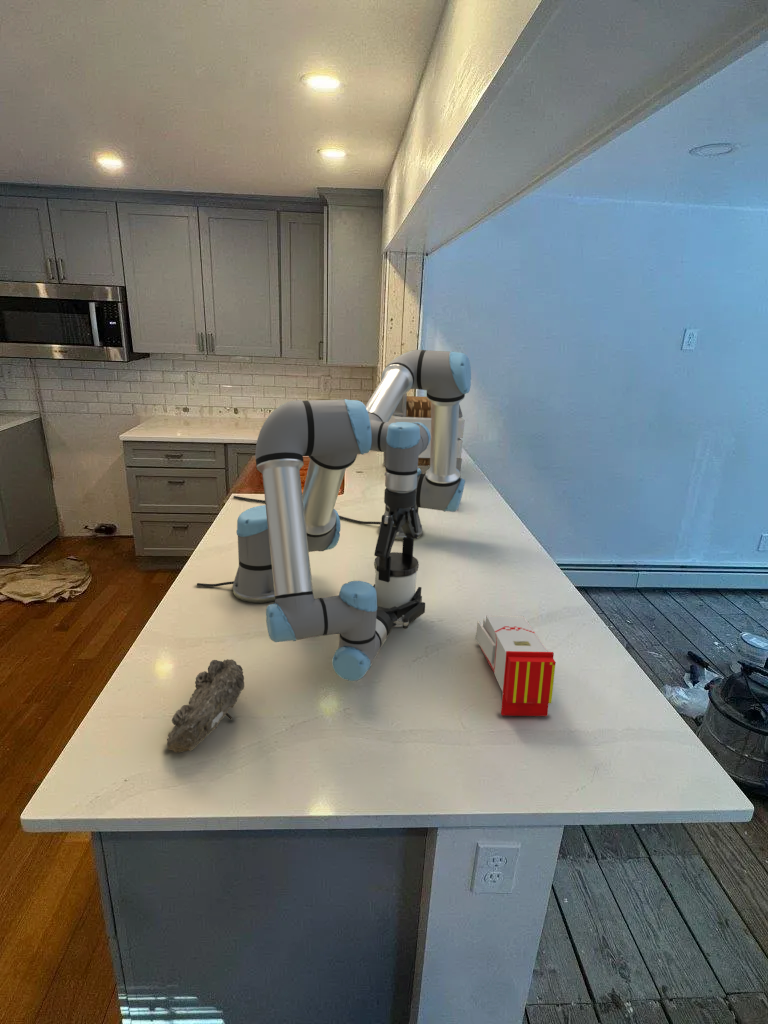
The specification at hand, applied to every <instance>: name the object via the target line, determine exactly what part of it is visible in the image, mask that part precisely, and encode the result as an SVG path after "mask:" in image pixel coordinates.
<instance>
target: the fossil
mask: <svg viewBox="0 0 768 1024" xmlns="http://www.w3.org/2000/svg"><path fill="white" fill-rule="evenodd" d="M243 670H244V669H243V667H242V665H240V664H237V662H236V661H235V660H234V659H232V658H231V659H227V658H226V659H224V660H223V661H222V660H217V659H212V660H211V661H210V663H209V665H208V666H207V671H201V672H199V673H198V674H197V675H196V676H195V680H194V684H195V685H194V687H195V689H194V690H193V693H192V694H191V697H190V698H189V700H188V704H184V705H182V706H181V707H180V709H177V710H176V711H175V713H174V715H173V716H172V718H171V723H172V724H173V727H172V730H171V731H170V732H168V734H167V738H166V741H167V742H166V745H167V749H168V750H169V751H173V752H174V753H176V754H178V753H182V752H188V751H189V752H192V751H193V750H195V748H196V747H197V746H199V744H200V743H201V742H203V741H204V740H205V739H206V738H207V737H208V736H209V735H210V734H211V733H212V732H214V730H215V729H217V727H218V726H219V724H220V722H221V721H222V720H223V719H224V718H225V716H226V717H227V719H229V720H233V717H232V715H230V714H229V710H230V709H231V708H234V706H235V704H236V703H237V702H238V699H239V697H240V695H241V693H242V691H243V690H245V689H244V688H245V675H244V671H243Z"/></svg>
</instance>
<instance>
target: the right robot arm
mask: <svg viewBox="0 0 768 1024" xmlns="http://www.w3.org/2000/svg"><path fill="white" fill-rule="evenodd" d="M471 368H472V367H471V361H470V357H469V356H468V355H467V354H466V353H464V352H459V351H458V352H457V351H453V350H452V351H446V350H428V349H427V350H426V349H413V350H410V351H406V352H404V353H402V354H400V355H398V356H396V357H395V358H394V359H392V360H391V361H390V362H389V363H388V364H387V365H386V366H385V368H384V369H383V370H382V372H381V376H380V377H381V381H380V382H379V383H378V385H377V387H376V388H375V389H374V392H373V393H372V394H371V396H370V397H369V400H368V401H367V403H366V404H365V407H366V409H367V411H368V415H369V419H370V425H371V434H372V442H371V449H370V451H369V452H372V451H373V452H380V453H384V452H386V466H385V472H384V476H385V481H384V486H385V489H384V494H383V495H384V496H383V502H384V505H385V507H384V508H385V509H384V513H383V514H382V515H381V521H365V520H358V519H354V518H349V517H345V516H342V515H339V518H340V520H343V521H347V522H352V523H355V524H361V525H379V526H378V537H377V539H376V545H375V548H374V549H375V550H374V553H373V554H374V557H379V578H378V580H381V581H385V582H389V581H390V567H391V556H389V555H390V553H391V552H392V548H393V546H394V543H395V541H402V549H401V550H402V551H401V553H405V554H408V555H411V556H413V557H414V542H415V540H417V539H418V538H420V537H421V536H422V535H423V525H422V524H421V518H420V515H419V508H420V509H428V510H436V511H443V512H452V513H454V512H457V511H458V510H459V508H460V504H461V501H462V498H463V493H464V489H465V484H466V479H464V478H462V477H461V474H460V472H459V470H458V469H456V461H457V440H458V420H459V405H460V403H461V402H462V401H463V400H464V399H465V397H466V394H469V392H470V390H471V385H472V382H471V381H472V369H471ZM411 390H421V391H426V397H427V398H428V399H429V400H430V401H431V435H430V431H429V429H428V428H427V427H426V426H425V425H424V424H422V423H419V422H412V423H410V422H396V423H390V422H389V420H390V418H391V416H392V414H393V413H394V411H395V409H396V407H397V406H398V404H399V402H400V400H401V398H402V397H403V395H404V394H405V393H407V394H408V393H409V392H410V391H411ZM430 439H431V449H430V466H429V468H428V469H427V470H426V471H425V473H422V469H421V468H419V466H418V456H419V455H420V454H421V453H422V452H423V451H425V450H426V448H427V446H428V445H429V443H430ZM233 499H237V500H242V501H249V502H256V503H263V504H265V499H257V498H249V497H244V496H238V495H237V496H236V495H233Z"/></svg>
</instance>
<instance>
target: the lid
mask: <svg viewBox="0 0 768 1024" xmlns="http://www.w3.org/2000/svg"><path fill="white" fill-rule="evenodd" d="M389 556H391V567H390V576H394V577H403V576H409V575H412V574H414V573H416V572H418V571H419V566H420V565H419V560H418V558H416V557H415V556H414V555H413V556H411V555H408V554H405V553H402V552H398V551H397V552H396V551H395V552H394V551H393V552H392V551H391V552H390V555H389ZM373 566H374V569H376V570H377V571H378V572H379V557H377V556H375V558H374V562H373ZM416 574H417V573H416Z"/></svg>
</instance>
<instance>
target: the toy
mask: <svg viewBox="0 0 768 1024" xmlns="http://www.w3.org/2000/svg"><path fill="white" fill-rule="evenodd" d="M476 622H477V623H476V631H475V640H476V642H477V644H478V646H479V648H480V650H481V652H482V653H483V656H484V658H485V659H486V661H487V663H488V664H489V666H490V668H491V670H492V672H493V673H494V677H495V679H496V681H497V683H498V686H499V688H500V690H501V692H502V696H501V697H502V698H501V710H500V715H501V716H514V717H515V716H517V717H518V716H520V717H523V716H524V717H548V712H549V704H552V700H553V692H554V681H555V672H556V664H557V663H556V661H555V659H554V654H555V653H554V651H548V649H547V648H546V646H545V645H544V644H543V642H542V641H541V639H540V638H539V636H538V635H537V634H536V632H535V630H534V629H533V627H532V626H531V624H530V622H529V621H528V620H527V619H526V617H525V616H524V615H523V616H522V615H521V616H520V615H486V616H485V617H483V621H482V623H481V621H476Z"/></svg>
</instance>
